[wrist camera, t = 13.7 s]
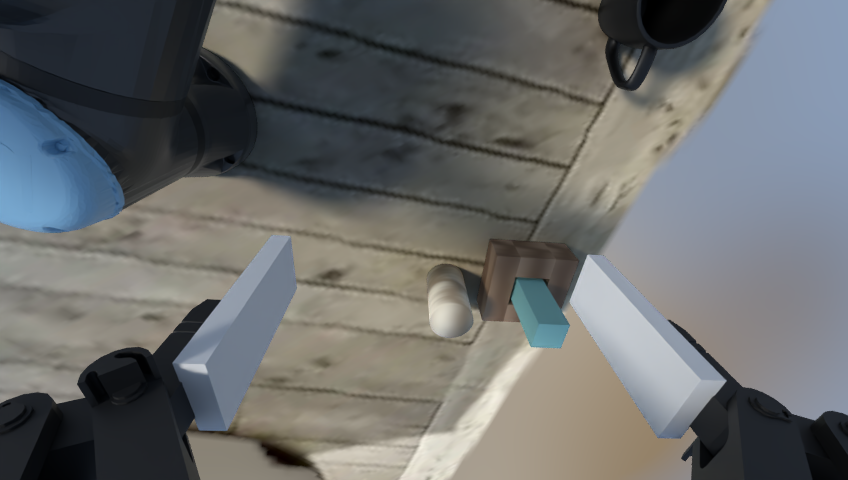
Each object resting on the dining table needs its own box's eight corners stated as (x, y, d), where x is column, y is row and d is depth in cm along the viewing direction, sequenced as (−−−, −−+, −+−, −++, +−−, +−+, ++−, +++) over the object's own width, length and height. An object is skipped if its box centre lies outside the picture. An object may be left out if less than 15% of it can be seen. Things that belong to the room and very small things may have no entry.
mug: (557, 73, 40) (596, 77, 32) (610, -51, 34) (674, -85, 26) (616, 93, 41) (668, 102, 33) (676, -23, 36) (757, -48, 27)
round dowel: (425, 292, 55) (427, 336, 47) (428, 262, 52) (432, 303, 44) (460, 294, 56) (469, 338, 47) (465, 264, 53) (476, 305, 44)
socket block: (476, 300, 56) (482, 320, 52) (489, 238, 51) (497, 256, 46) (544, 303, 57) (555, 323, 53) (564, 243, 52) (579, 260, 47)
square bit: (503, 282, 55) (530, 347, 43) (509, 262, 53) (538, 323, 41) (527, 283, 55) (560, 348, 43) (533, 263, 53) (570, 325, 41)
